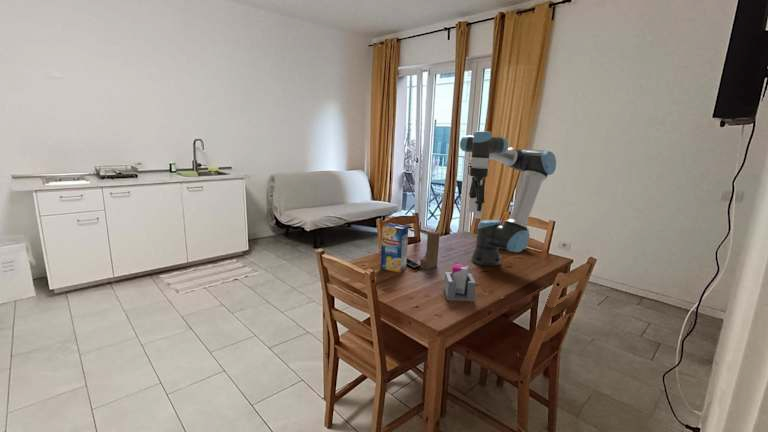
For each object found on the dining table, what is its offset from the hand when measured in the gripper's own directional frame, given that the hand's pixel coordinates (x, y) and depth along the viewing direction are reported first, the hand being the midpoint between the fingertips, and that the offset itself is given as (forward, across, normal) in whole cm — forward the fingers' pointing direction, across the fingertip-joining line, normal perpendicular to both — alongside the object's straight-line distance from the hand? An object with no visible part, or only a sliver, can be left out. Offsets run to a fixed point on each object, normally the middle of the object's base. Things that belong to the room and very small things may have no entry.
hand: (474, 215), depth 165 cm
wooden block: (+32, -17, -17) cm, 40 cm away
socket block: (+32, +16, -7) cm, 36 cm away
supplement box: (+31, +15, -7) cm, 35 cm away
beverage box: (+32, -12, -35) cm, 49 cm away
